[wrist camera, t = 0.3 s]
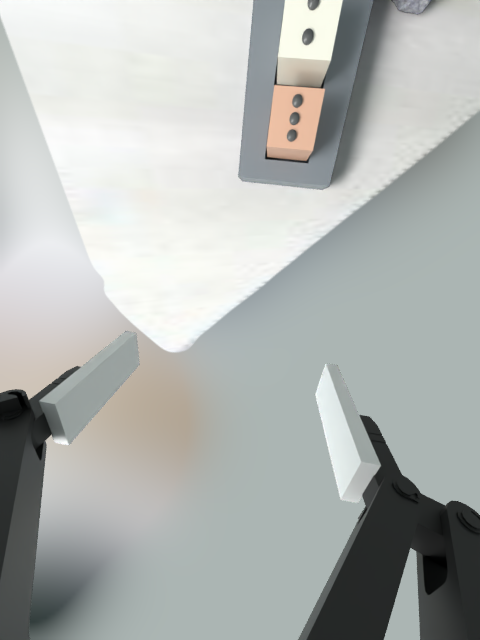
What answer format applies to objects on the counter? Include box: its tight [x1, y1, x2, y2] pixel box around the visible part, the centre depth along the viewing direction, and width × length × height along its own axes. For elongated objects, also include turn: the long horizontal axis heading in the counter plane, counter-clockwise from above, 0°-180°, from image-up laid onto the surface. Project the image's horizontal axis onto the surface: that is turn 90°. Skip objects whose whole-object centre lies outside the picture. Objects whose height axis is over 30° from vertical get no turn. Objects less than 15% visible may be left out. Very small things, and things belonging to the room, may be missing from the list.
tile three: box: [267, 85, 325, 161], centre depth 26 cm, size 5×5×5 cm
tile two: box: [277, 0, 343, 88], centre depth 23 cm, size 5×5×5 cm
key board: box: [238, 0, 373, 190], centre depth 27 cm, size 24×12×4 cm, turn 174°
